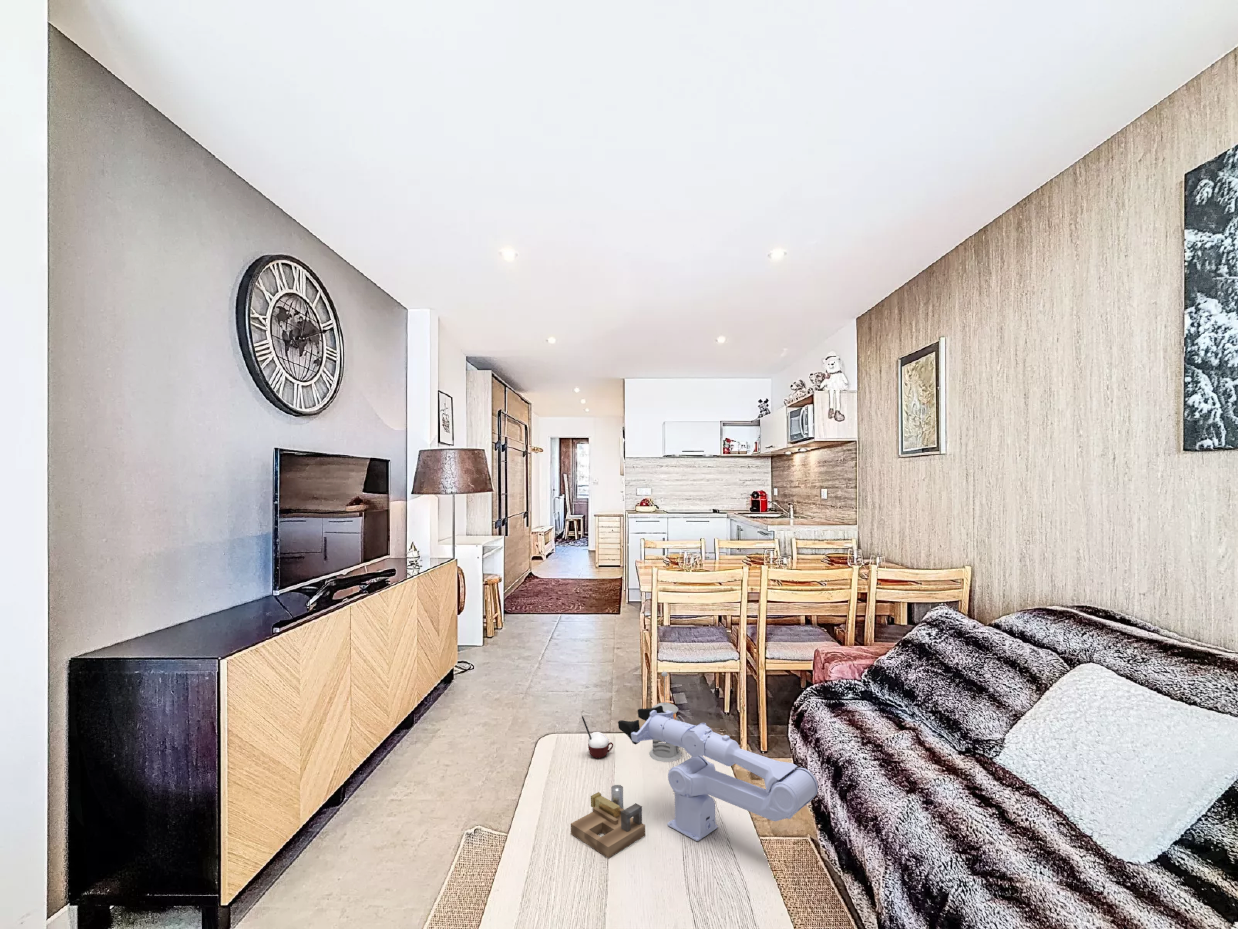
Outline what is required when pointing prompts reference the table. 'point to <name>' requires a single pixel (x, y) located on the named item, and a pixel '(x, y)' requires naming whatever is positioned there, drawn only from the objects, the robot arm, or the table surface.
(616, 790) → the cylinder
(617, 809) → the lock pin
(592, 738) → the cocoa
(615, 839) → the dock
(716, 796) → the robot arm
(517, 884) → the table surface
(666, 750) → the french press
